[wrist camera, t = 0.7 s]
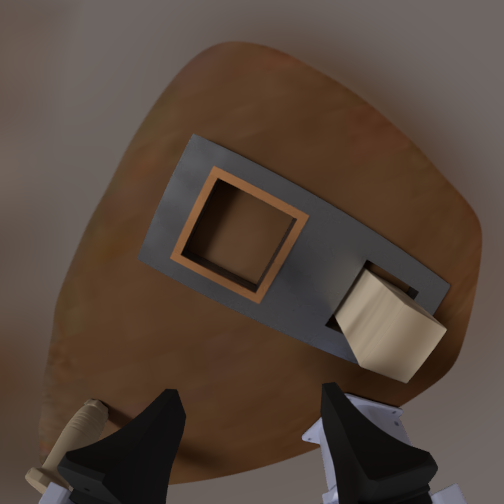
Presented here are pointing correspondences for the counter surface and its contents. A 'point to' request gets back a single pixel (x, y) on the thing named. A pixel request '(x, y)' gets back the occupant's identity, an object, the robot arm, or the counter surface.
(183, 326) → the counter surface
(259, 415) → the counter surface
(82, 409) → the handle
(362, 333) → the peg
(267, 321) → the grey board with holes
